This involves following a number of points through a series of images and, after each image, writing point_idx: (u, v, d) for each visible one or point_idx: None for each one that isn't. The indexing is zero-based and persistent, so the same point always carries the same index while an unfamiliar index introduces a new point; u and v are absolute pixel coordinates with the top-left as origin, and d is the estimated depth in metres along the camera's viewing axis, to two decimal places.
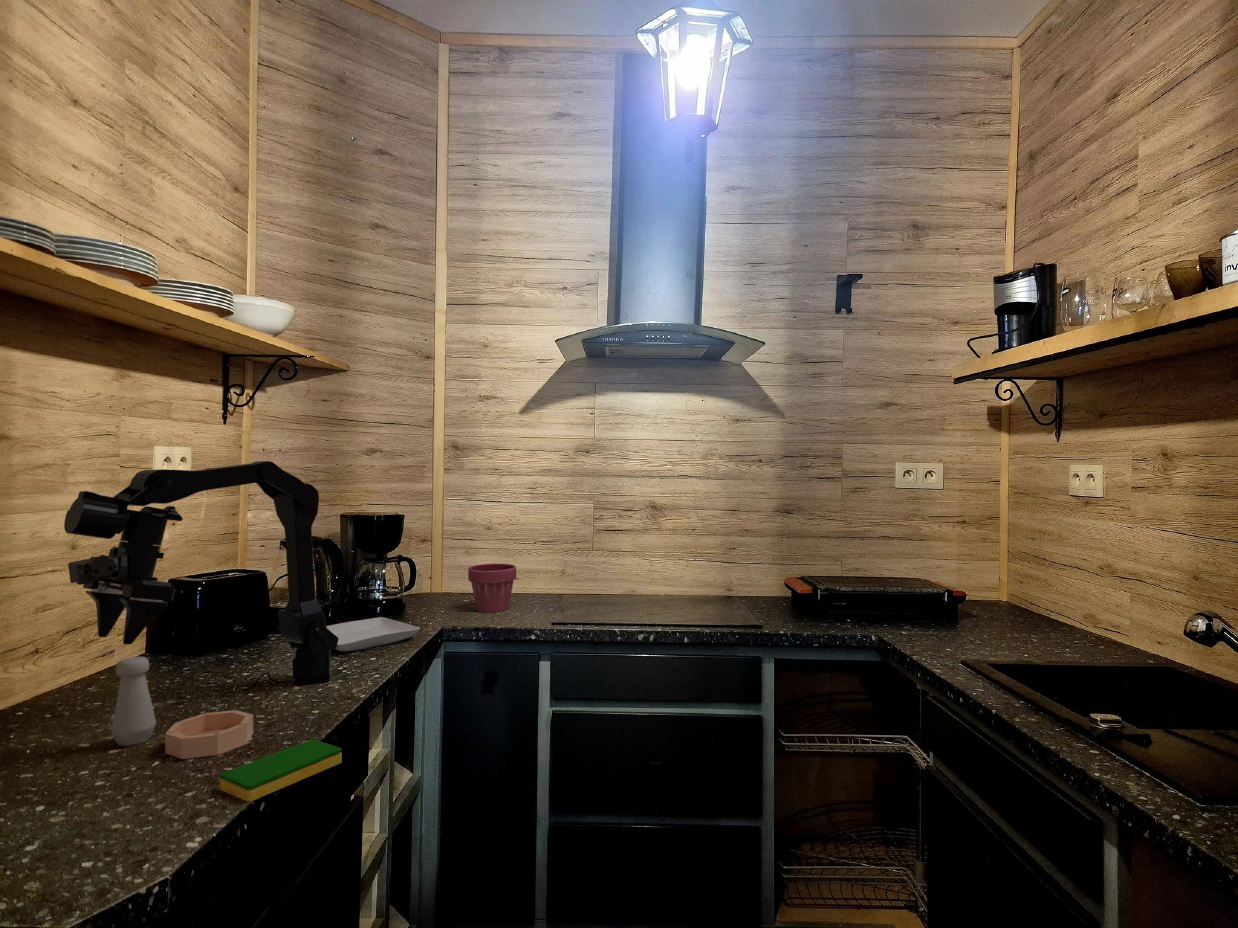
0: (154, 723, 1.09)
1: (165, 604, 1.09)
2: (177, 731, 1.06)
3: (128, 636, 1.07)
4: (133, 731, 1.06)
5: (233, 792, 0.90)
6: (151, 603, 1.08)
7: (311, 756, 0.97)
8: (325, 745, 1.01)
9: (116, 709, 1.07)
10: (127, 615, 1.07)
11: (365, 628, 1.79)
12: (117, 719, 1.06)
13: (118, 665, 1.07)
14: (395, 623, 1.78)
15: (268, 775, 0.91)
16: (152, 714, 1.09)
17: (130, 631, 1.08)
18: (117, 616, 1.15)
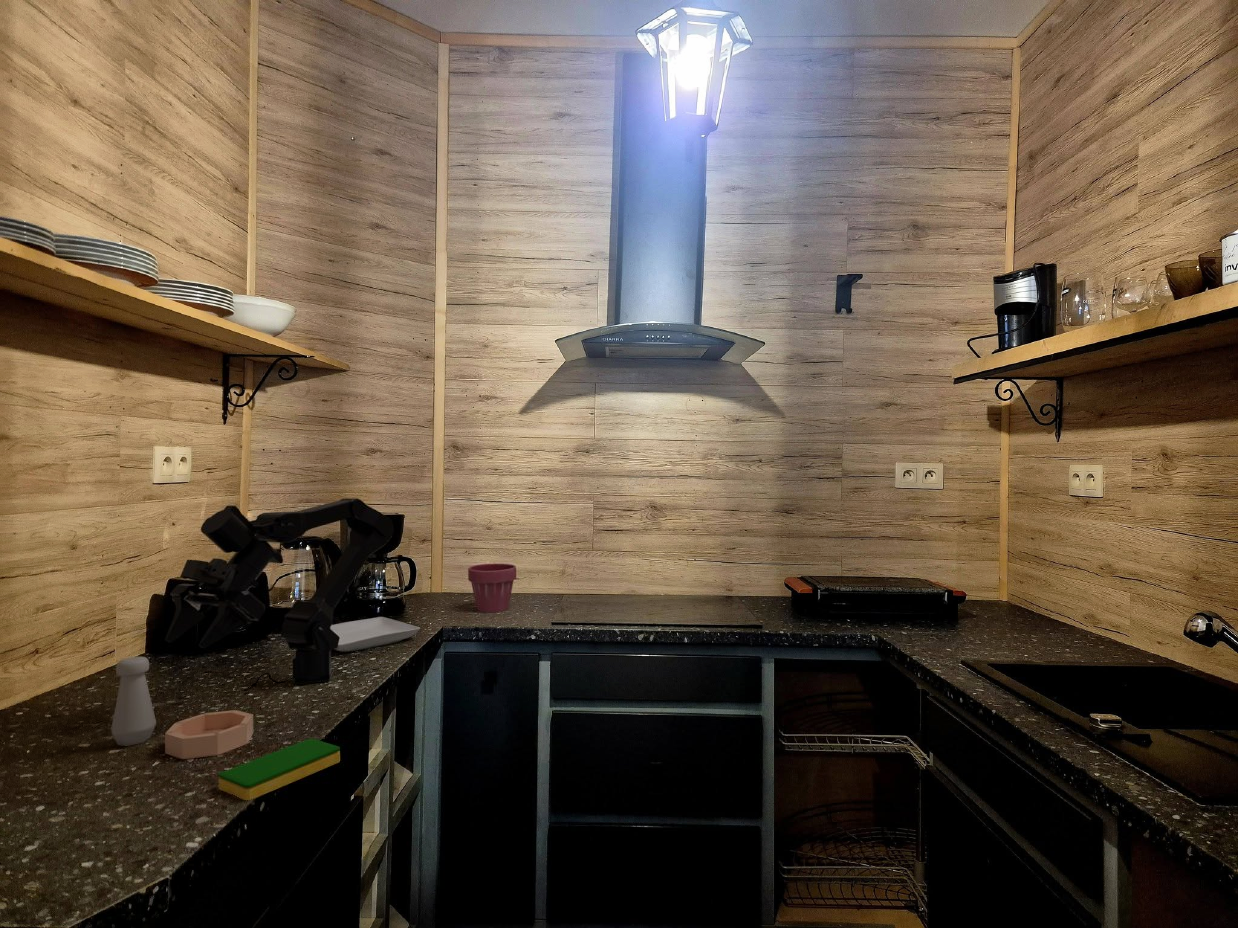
0: (154, 723, 1.09)
1: (250, 622, 1.18)
2: (177, 731, 1.06)
3: (206, 639, 1.14)
4: (133, 731, 1.06)
5: (232, 792, 0.90)
6: (242, 615, 1.17)
7: (309, 755, 0.97)
8: (323, 744, 1.01)
9: (116, 709, 1.07)
10: (216, 619, 1.15)
11: (365, 628, 1.79)
12: (117, 719, 1.06)
13: (118, 665, 1.07)
14: (395, 623, 1.78)
15: (266, 774, 0.91)
16: (152, 714, 1.09)
17: (210, 636, 1.15)
18: (187, 628, 1.21)
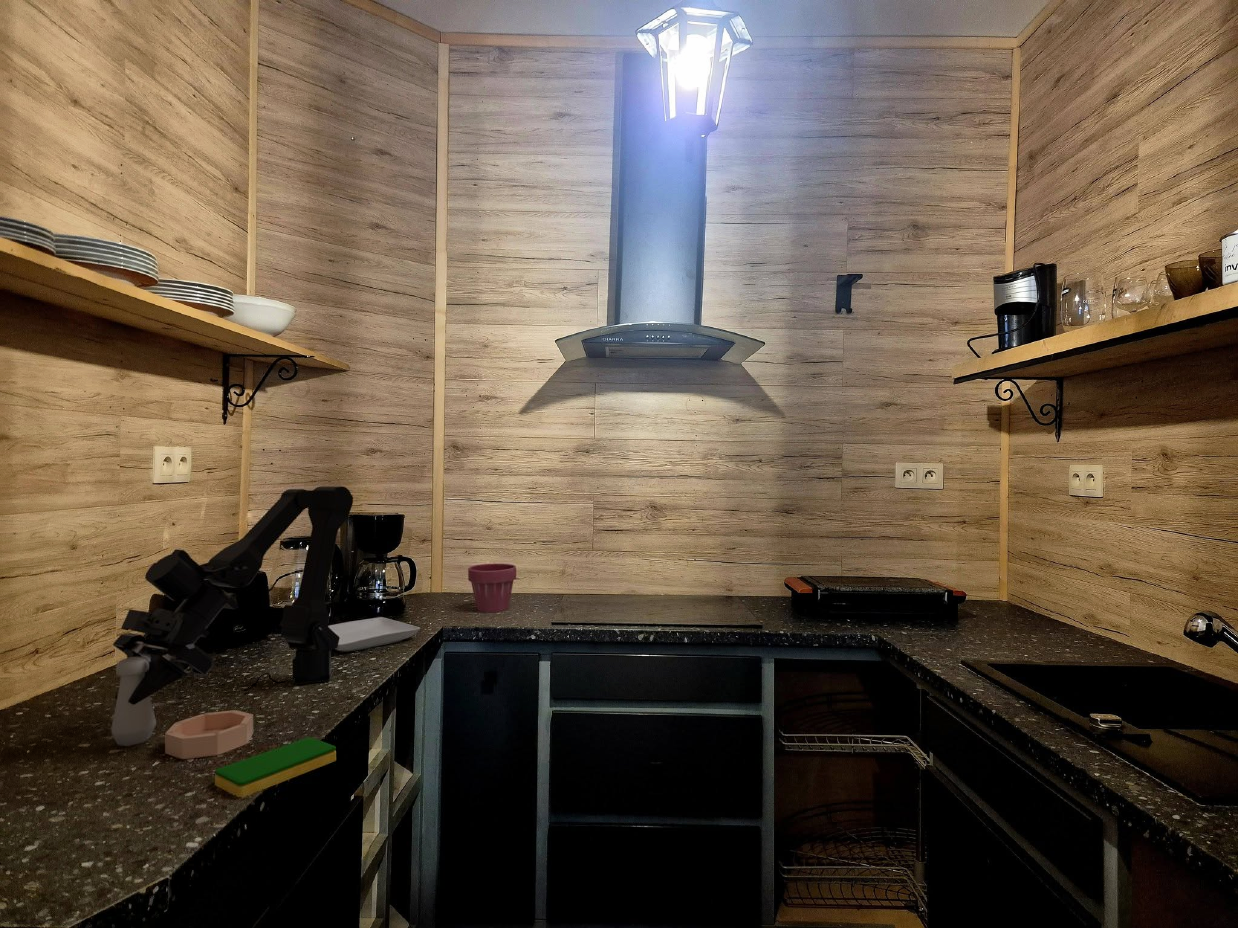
0: (154, 723, 1.09)
1: (185, 675, 1.11)
2: (177, 731, 1.06)
3: (137, 695, 1.07)
4: (133, 731, 1.06)
5: (226, 788, 0.91)
6: (176, 668, 1.10)
7: (305, 753, 0.98)
8: (320, 743, 1.02)
9: (116, 709, 1.07)
10: (148, 673, 1.08)
11: (365, 628, 1.79)
12: (117, 719, 1.06)
13: (118, 665, 1.07)
14: (395, 623, 1.78)
15: (260, 772, 0.92)
16: (152, 714, 1.09)
17: (141, 691, 1.07)
18: None
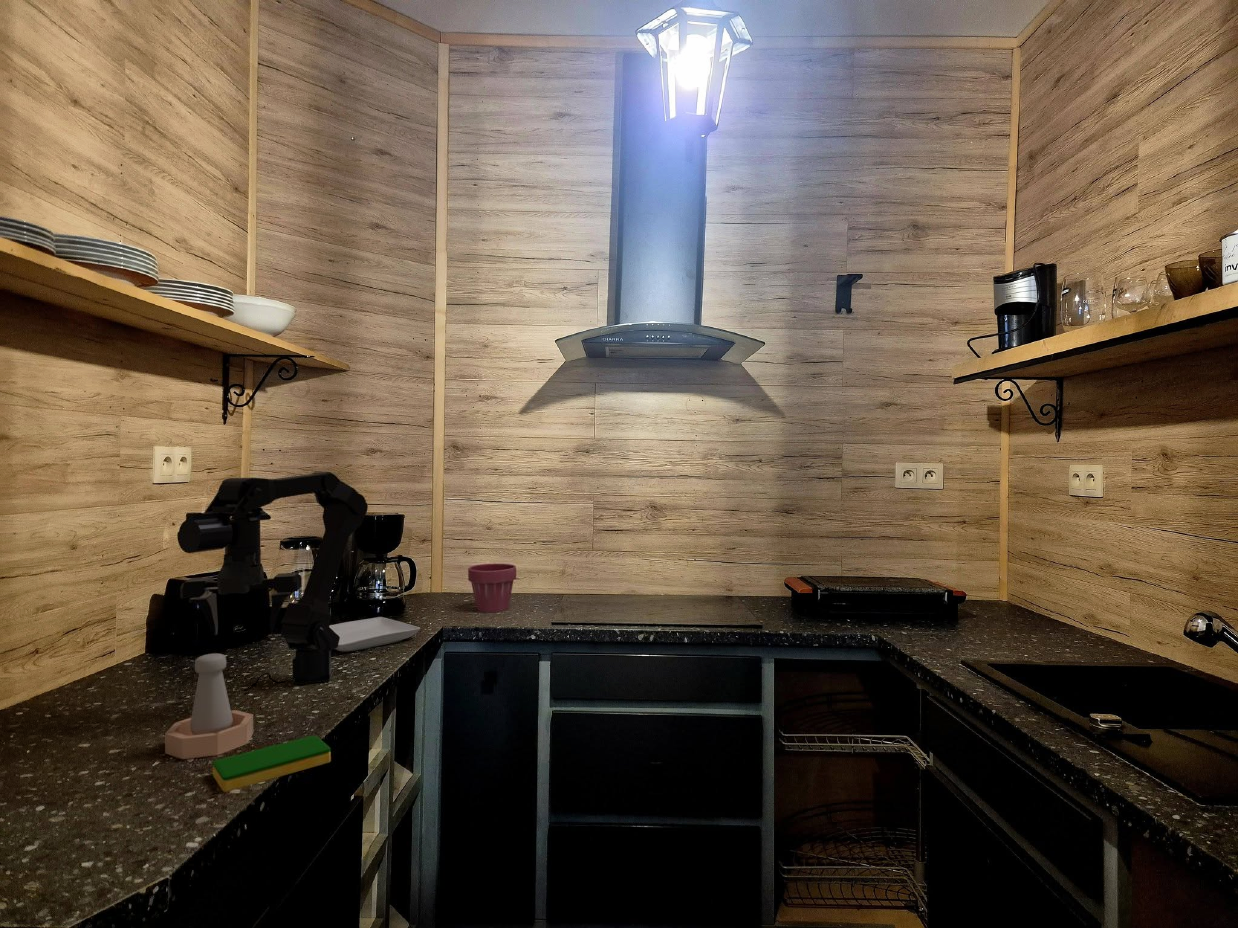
0: None
1: None
2: (177, 731, 1.06)
3: (274, 624, 1.26)
4: (220, 727, 1.06)
5: (218, 781, 0.93)
6: (292, 592, 1.28)
7: (298, 753, 0.98)
8: (319, 743, 1.02)
9: (199, 707, 1.05)
10: (274, 607, 1.25)
11: (365, 628, 1.79)
12: (201, 716, 1.05)
13: (200, 662, 1.06)
14: (394, 623, 1.78)
15: (247, 768, 0.93)
16: (230, 710, 1.09)
17: None
18: None
